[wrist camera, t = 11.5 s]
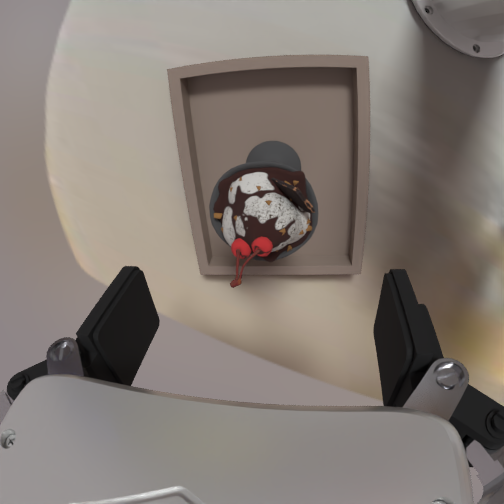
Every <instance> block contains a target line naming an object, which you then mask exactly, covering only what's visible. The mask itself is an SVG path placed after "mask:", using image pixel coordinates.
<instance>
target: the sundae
mask: <svg viewBox="0 0 504 504" xmlns="http://www.w3.org/2000/svg"><path fill="white" fill-rule="evenodd" d="M209 211H210V219H211V223H212V226H213V228H214V229H215V231H216V233H217V234H218V236H219V237H220V238H221V239H222V240H223V241H224V242H225V243H226V244H227V245H229V246H230V247H231V251H232V253H233V255H234V256H235V257H237V259H236V278H235V280H233V281H231V283H230V285H231V287H233V288H234V287H236V286H238V285H240V284H241V278H242V272H243V269H244V266H245V265H246V264H247V263H248V261H249V260H250V259H254V260H259V261H267V262H273V261H275V260H278V259H281V258H284V257H287V256H289V255H291V254H293V253H294V252H296V251H297V250H298V249H300V248H301V247H302V246H303V245H304V244H306V243H307V241H308V240H309V239H310V238H311V237H312V235H313V233H314V231H315V229H316V226H317V224H318V203H317V199H316V196H315V193H314V191H313V189H312V186H311V184H310V183H309V182H308V180H307V179H306V178H305V174H304V172H303V171H301V161H300V159H299V156H298V154H297V153H296V151H295V150H294V149H293V148H291V147H290V146H289V145H287V144H285V143H283V142H279V141H266V142H263V143H260V144H259V145H257V146H255V147H254V148H253V149H252V150H251V152H250V153H249V155H248V157H247V160H246V163H244V164H241V165H238V166H236V167H234V168H231V169H230V170H228V171H227V172H226V173H224V174H223V175H222V177H221V178H220V179H219V180H218V182H217V183H216V185H215V187H214V189H213V192H212V195H211V200H210V205H209ZM247 257H248V259H247V260H246V261H245V263H244V264H243V266H242V268H241V271H240V275H239V278H238V268H239V260H240V259H245V258H247Z"/></svg>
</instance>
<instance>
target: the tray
mask: <svg viewBox="0 0 504 504" xmlns="http://www.w3.org/2000/svg"><path fill="white" fill-rule="evenodd" d="M167 72H168V80H169V88H170V96H171V104H172V111H173V118H174V125H175V132H176V139H177V146H178V152H179V158H180V165H181V171H182V177H183V183H184V189H185V195H186V200H187V206H188V212H189V217H190V223H191V228H192V233H193V239H194V244H195V249H196V254H197V259H198V264H199V269H200V274H201V275H236V259H237V257H235V256H234V255H233V253H232V251H231V247H230V246H229V245H227V244H226V243H225V242H224V241H223V240H222V239H221V238H220V237H219V236H218V234H217V233H216V231H215V229H214V228H213V226H212V223H211V219H210V211H209V205H210V200H211V195H212V192H213V189H214V187H215V185H216V183H217V182H218V180H219V179H220V178H221V177H222V175H223V174H224V173H226V172H227V171H228V170H230V169H231V168H234V167H236V166H238V165H241V164H244V163H246V160H247V157H248V155H249V153H250V152H251V150H252V149H253V148H254V147H255V146H257V145H259V144H260V143H263V142H266V141H279V142H283V143H285V144H287V145H289V146H290V147H291V148H293V149H294V150H295V151H296V153H297V154H298V156H299V159H300V161H301V171H303V172H304V174H305V178H306V179H307V180H308V182H309V183H310V184H311V186H312V189H313V191H314V193H315V196H316V199H317V203H318V224H317V226H316V229H315V231H314V233H313V235H312V237H311V238H310V239H309V240H308V241H307V243H306V244H304V245H303V246H302V247H301V248H300V249H298V250H297V251H296V252H294V253H293V254H291V255H289V256H287V257H284V258H281V259H278V260H275V261H273V262H267V261H259V260H254V259H250V260H249V261H248V263H247V264H246V265H245V266H244V269H243V272H242V275H324V274H361V269H362V260H363V251H364V240H365V229H366V217H367V203H368V186H369V163H370V82H369V60H368V56H350V55H284V56H266V57H252V58H241V59H232V60H223V61H215V62H208V63H201V64H195V65H189V66H183V67H177V68H172V69H167ZM247 259H248V257H247V258H245V259H240V260H239V268H238V275H240V271H241V268H242V266H243V264H244V263H245V261H246V260H247Z"/></svg>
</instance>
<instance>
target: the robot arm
mask: <svg viewBox="0 0 504 504" xmlns="http://www.w3.org/2000/svg"><path fill="white" fill-rule="evenodd" d="M412 2H413V4H414V6H415V8H416V10H417V12H418V13H419V15H420V16H421V18H422V19H423V21H424V22H425V23H426V24H427V26H428V27H429V28H430V29H431V30H432V31H433V32H434V33H435V34H436V35H437V36H438V37H439V38H440V39H441V40H442V41H444V42H445V43H446V44H448V45H449V46H451V47H452V48H454V49H456V50H458V51H460V52H462V53H464V54H467V55H470V56H473V57H481V58H494V57H497V56H501V55H503V54H504V0H412ZM425 9H426V10H427V11H428V14H427V13H426V12H425ZM473 48H474V50H473ZM158 327H159V317H158V314H157V311H156V308H155V306H154V303H153V300H152V297H151V294H150V291H149V288H148V285H147V282H146V279H145V276H144V273H143V271H142V270H140V269H139V268H138V267H136V266H125V267H123V268H122V270H121V271H120V272H119V274H118V275H117V276H116V278H115V279H114V280H113V282H112V283H111V284H110V286H109V287H108V288H107V290H106V291H105V293H104V294H103V295H102V297H101V298H100V300H99V301H98V303H97V304H96V305H95V307H94V308H93V309H92V311H91V312H90V314H89V315H88V317H87V318H86V320H85V321H84V322H83V324H82V325H81V327H80V328H79V330H78V331H77V333H76V335H77V339H76V340H74V339H73V338H70V337H64V338H61V339H59V340H57V341H55V342H54V343H53V344H52V345H51V346H50V347H49V349H48V351H47V356H46V357H47V360H45V361H43V362H40V363H38V364H36V365H34V366H32V367H30V368H28V369H26V370H23V371H21V372H19V373H17V374H16V375H14V376H13V377H12V378H11V379H10V381H9V382H8V385H7V392H5V391H2V392H0V504H474V501H473V491H472V482H471V475H470V469H469V467H474V468H475V469H476V471H477V472H478V473H479V474H478V475H477V477H478V478H479V479H480V481H481V483H482V485H483V490H484V491H483V495H482V498H481V499H480V501H479V502H478V503H477V504H504V407H503V406H502V405H500V404H499V403H497V402H496V401H494V400H493V399H491V398H489V397H488V396H486V395H485V394H483V393H482V392H480V391H478V390H477V389H475V388H474V387H472V386H471V385H469V384H468V382H469V374H468V372H467V369H466V368H465V367H464V365H463V364H462V363H460V362H459V361H457V360H454V359H452V358H444V357H443V354H442V351H441V348H440V345H439V342H438V339H437V336H436V333H435V330H434V327H433V324H432V321H431V318H430V315H429V313H428V310H427V308H426V306H425V305H424V304H418V302H417V299H416V296H415V293H414V291H413V288H412V285H411V283H410V280H409V277H408V275H407V272H406V270H405V269H391V270H390V271H389V273H385V275H384V279H383V284H382V290H381V295H380V300H379V305H378V310H377V315H376V319H375V324H374V339H375V345H376V352H377V358H378V365H379V372H380V380H381V387H382V396H383V404H384V406H296V405H275V404H260V403H246V402H235V401H225V400H216V399H208V398H200V397H192V396H185V395H179V394H172V393H165V392H160V391H153V390H148V389H142V388H138V387H132V386H131V384H132V382H133V380H134V378H135V375H136V373H137V371H138V369H139V367H140V365H141V363H142V360H143V358H144V356H145V354H146V352H147V350H148V348H149V346H150V344H151V341H152V340H153V337H154V335H155V333H156V331H157V329H158Z"/></svg>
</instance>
